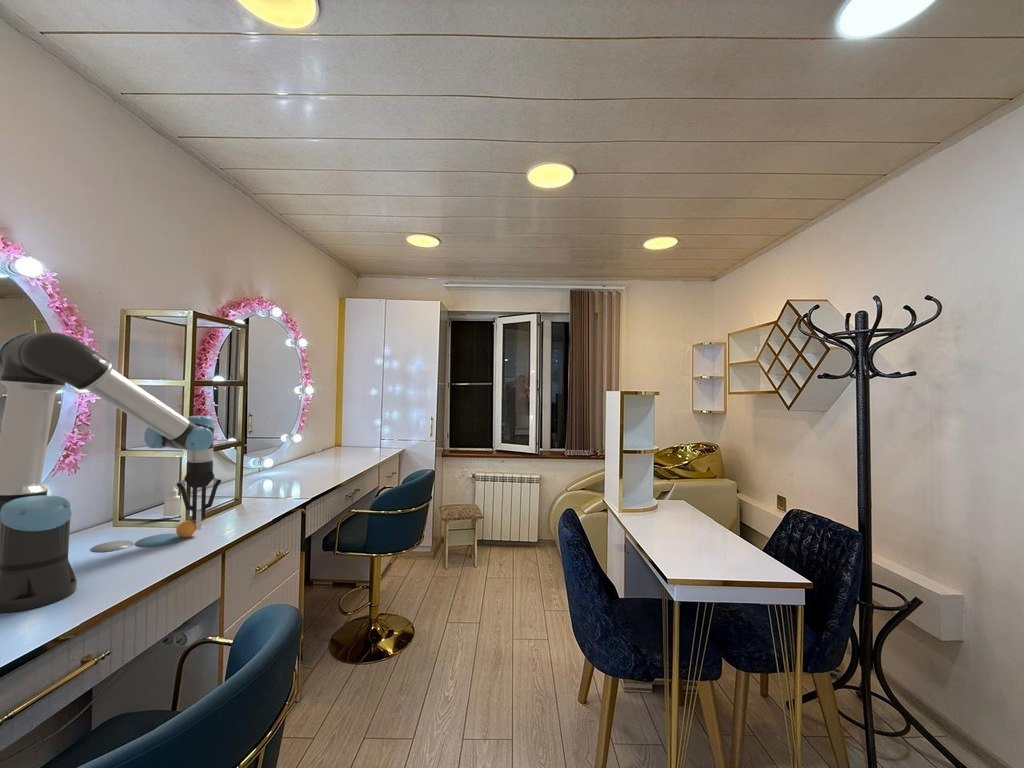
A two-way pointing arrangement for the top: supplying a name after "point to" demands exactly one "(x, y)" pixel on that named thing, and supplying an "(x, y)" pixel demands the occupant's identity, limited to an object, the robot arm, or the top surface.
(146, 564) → the top surface
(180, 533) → the ball
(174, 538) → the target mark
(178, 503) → the eye dropper bottle
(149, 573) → the top surface
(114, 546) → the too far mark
